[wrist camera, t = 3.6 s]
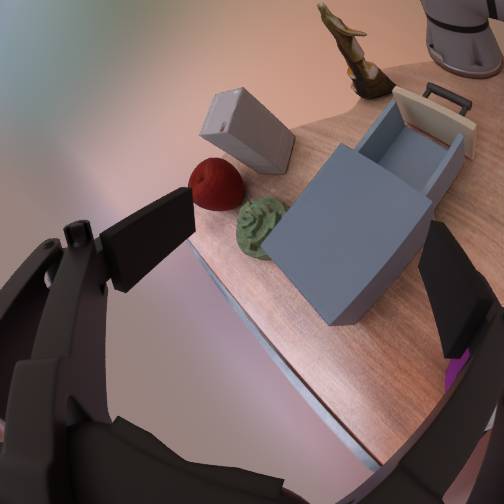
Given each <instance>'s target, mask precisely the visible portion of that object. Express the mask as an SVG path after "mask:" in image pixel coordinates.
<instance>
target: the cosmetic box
mask: <svg viewBox="0 0 504 504" xmlns="http://www.w3.org/2000/svg"><path fill="white" fill-rule="evenodd" d="M199 136H201V137H202V138H204V139H205V140H207V141H209V142H211V143H212V144H214V145H215V146H217V147H218V148H220V149H222V150H223V151H225V152H226V153H228V154H230V155H231V156H233V157H234V158H236V159H237V160H239V161H240V162H242V163H244V164H245V165H247V166H248V167H250V168H251V169H253V170H254V171H256V172H257V173H259V174H285V173H286V170H287V166H288V162H289V158H290V154H291V150H292V146H293V143H294V139H295V135H294V134H293V133H292V132H291V131H290V130H289V129H288V128H287V127H286V126H284V125H283V123H281V122H280V121H279V120H278V119H277V118H276V117H275V116H274V115H273V114H272V113H271V112H270V111H269V110H268V109H267V108H266V107H265V106H263V105H262V104H261V103H260V102H259V101H258V100H257V99H256V98H255V97H253V96H252V95H251V94H250V93H249V92H248V91H247V90H246V89H245V88H244V87H241V88H238V89H234V90H230V91H226V92H222V93H219V94H216V95H215V96H214V99H213V101H212V104H211V106H210V108H209V111H208V113H207V116H206V118H205V121H204V124H203V126H202V129H201V131H200V133H199Z"/></svg>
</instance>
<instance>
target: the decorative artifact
mask: <svg viewBox="0 0 504 504" xmlns="http://www.w3.org/2000/svg"><path fill="white" fill-rule="evenodd" d="M288 210H289V207H288V206H286V205H285V204H283V203H282V202H280V201H279V200H277V199H275V198H273V197H261V198H258V199H256V200H254V201H253V202H250V201H249V202H247V203H246V204H245V205H244V206H243V207H242V208H241V209H240V211H239V212H238V214H240V215H239V217H238V220H237V222H238V224H237V230H236V237H237V242H238V245H239V247H240V249H241V250H242V251H243V252H244V253H245V254H247V255H249V256H251V257H254V258H257V259H260V260H271V258H270V257H269V256H268V255H267V253H266V252H265V251H264V250H263V249H262V248H261V246H260V245H261V244H262V243H263V241H264V240H265V239H266V238H267V236H268V235H269V234H270V233H271V231H272V230H273V229H274V227H275V226H276V225H277V224H278V222H279V221H280V220H281V219H282V217H283V216H284V215H285V214H286V212H287V211H288Z"/></svg>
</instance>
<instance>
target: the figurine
mask: <svg viewBox="0 0 504 504" xmlns="http://www.w3.org/2000/svg"><path fill="white" fill-rule="evenodd" d="M317 6H318V9H319V11H320V13H321V18H322V21H323V23H324V24H325V26H326V27H327V28H328V29H329V31H330V32H331V33H332V35H333V36H334V38H335V39H336V42H337V46H338V48H339V50H340V51H341V53H342V55H343V56H344V58H345V60H346V62H347V65H348V67H349V68H348V71H347V73H348V75H349V76H350V78H351V79H352V80H353V82H352V84H351V88H352V89H353V90H354V92H355V93H356V94H358V95H359V96H360V97H362V98H373V97H377V96H381V95H384V94H387V93H389V92H391V91H392V90H393V89H394V87H395V86H397V85H396V84H394V83H393V82H392V81H391V80H390V79H389V78H388V77H387V76H386V75H385V74H384V73H383V72H382V71H381V70H380V69H379V68H378V67H377V66H376V65H375V64H374V63H372V62H366V61H365V58H364V52H363V50H362V48H361V47H360V45H359V44H358V42H357V40H356V39H355V37H354V36H366V35H367V34H366V33H364V32H361V31H356V30H352V29H350V28H348V27H347V26H346V25H345V24H344V23H343V22H342V21H341V19H340V18H337V17H336V16H334V15H333V14H332V13H331V12H330V11H329V9H328V8H327V6H326V5H325V4H324V3H319V4H318V5H317Z"/></svg>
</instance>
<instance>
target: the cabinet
mask: <svg viewBox="0 0 504 504" xmlns="http://www.w3.org/2000/svg"><path fill="white" fill-rule="evenodd" d="M431 220H434V221H435V214H434V206H433V201H432V200H430V199H429V198H428V197H426V196H425V195H423V194H422V193H421V192H419V191H418V190H416V189H415V188H414V187H412V186H411V185H409V184H408V183H406V182H405V181H403V180H402V179H400V178H399V177H397V176H396V175H394V174H393V173H391V172H390V171H388V170H387V169H385V168H383V167H382V166H380V165H379V164H377V163H375V162H374V161H372V160H370V159H369V158H367V157H365V156H364V155H362V154H360V153H358V152H357V151H355V150H353V149H351V148H350V147H348V146H346V145H344V144H342V143H341V144H340V145H339V146H338V147H337V149H336V150H335V151H334V153H333V154H332V155H331V156H330V158H329V159H328V160H327V161H326V163H325V164H324V165H323V167H322V168H321V169H320V170H319V172H318V173H317V174H316V175H315V177H314V178H313V179H312V181H311V182H310V183H309V184H308V186H307V187H306V188H305V189H304V191H303V192H302V193H301V194H300V196H299V197H298V198H297V200H296V201H295V202H294V203H293V205H292V206H291V207H290V208H289V210H288V211H287V212H286V214H285V215H284V216H283V217H282V219H281V220H280V221H279V222H278V224H277V225H276V226H275V227H274V229H273V230H272V231H271V233H270V234H269V235H268V236H267V238H266V239H265V240H264V241H263V243H262V244H261V245H260V246H261V248H262V249H263V250H264V251H265V252H266V253H267V255H268V256H269V257H270V258H271V259H272V260H273V261H274V263H275V264H276V265H277V266H278V267H279V268H280V270H281V271H282V272H283V273H284V274H285V275H286V277H287V278H288V279H289V280H290V281H291V282H292V284H293V285H294V286H295V287H296V288H297V289H298V290H299V292H300V293H301V294H302V295H303V296H304V297H305V299H306V300H307V301H308V302H309V303H310V304H311V306H312V307H313V308H314V309H315V310H316V312H317V313H318V314H319V315H320V316H321V317H322V319H323V320H324V321H325V322H326V323H327V324H328V326H342V325H354V324H355V323H356V322H357V321H358V320H359V319H360V318H361V317H362V316H363V315H364V314H365V313H366V312H367V311H368V310H369V309H370V308H371V307H372V306H373V304H374V303H375V302H376V301H377V300H378V299H379V298H380V297H381V296H382V295H383V293H384V292H385V291H386V290H387V289H388V288H389V287H390V285H391V284H392V283H393V282H394V281H395V280H396V278H397V277H398V276H399V275H400V274H401V272H402V271H403V270H404V269H405V268H406V266H407V265H408V264H409V263H410V261H411V260H412V259H413V258H414V256H415V255H416V254H417V253H418V251H419V250H420V249H421V247H422V246H423V245H424V243H425V242H426V238H427V234H428V230H429V227H430V223H431Z"/></svg>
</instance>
